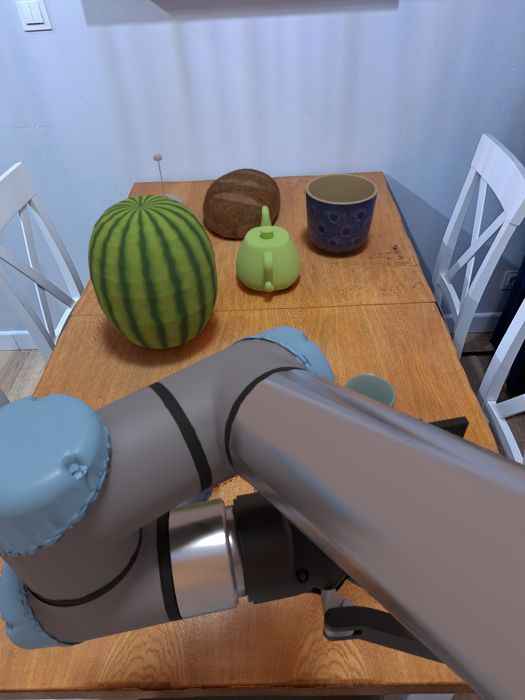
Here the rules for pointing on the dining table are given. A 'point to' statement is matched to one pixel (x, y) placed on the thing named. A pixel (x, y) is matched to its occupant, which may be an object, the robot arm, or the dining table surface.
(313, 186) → the planter
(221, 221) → the bread
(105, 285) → the fruit
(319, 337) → the dining table surface
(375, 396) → the cup
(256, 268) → the teapot
